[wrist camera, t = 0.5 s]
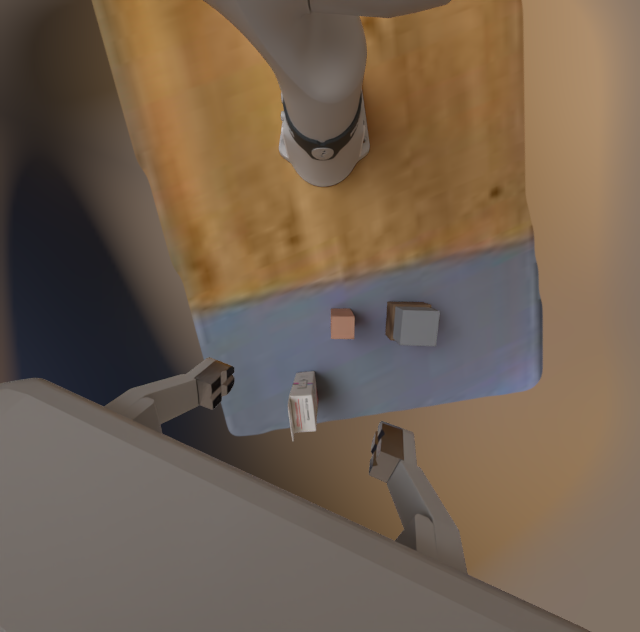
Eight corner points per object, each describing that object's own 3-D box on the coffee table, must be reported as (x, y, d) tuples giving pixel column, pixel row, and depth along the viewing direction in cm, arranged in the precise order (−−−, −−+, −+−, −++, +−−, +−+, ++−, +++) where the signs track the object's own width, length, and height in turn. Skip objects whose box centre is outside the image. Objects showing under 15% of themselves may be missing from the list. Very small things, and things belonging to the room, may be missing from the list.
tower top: (395, 306, 48) (403, 310, 43) (428, 307, 48) (440, 311, 43) (392, 337, 50) (399, 344, 45) (425, 338, 49) (435, 346, 44)
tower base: (387, 301, 53) (393, 304, 48) (421, 301, 53) (431, 304, 48) (385, 334, 55) (390, 340, 50) (418, 334, 54) (427, 341, 49)
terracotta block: (331, 308, 54) (331, 316, 44) (349, 308, 54) (354, 316, 44) (330, 326, 55) (331, 338, 45) (349, 327, 54) (354, 339, 45)
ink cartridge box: (319, 401, 58) (316, 443, 44) (300, 402, 59) (291, 444, 44) (315, 370, 57) (310, 403, 42) (295, 371, 57) (284, 405, 43)
